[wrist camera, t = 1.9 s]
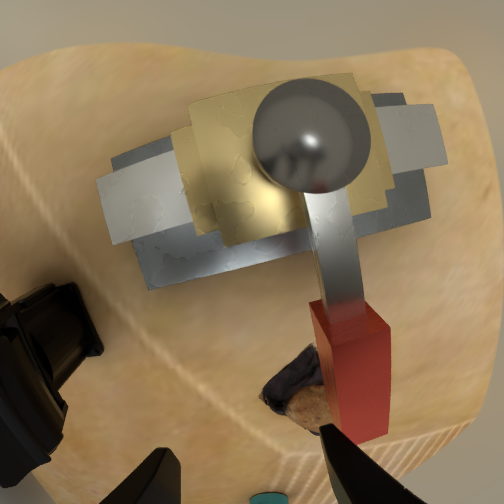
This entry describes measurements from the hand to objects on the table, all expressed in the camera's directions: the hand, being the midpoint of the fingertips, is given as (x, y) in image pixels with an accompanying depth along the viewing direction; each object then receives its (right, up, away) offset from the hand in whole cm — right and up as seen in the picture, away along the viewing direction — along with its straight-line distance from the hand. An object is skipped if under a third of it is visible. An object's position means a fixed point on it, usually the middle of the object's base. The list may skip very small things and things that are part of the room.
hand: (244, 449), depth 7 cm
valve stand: (+2, +11, +11) cm, 16 cm away
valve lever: (+3, +5, +3) cm, 7 cm away
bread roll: (+7, -6, +16) cm, 18 cm away
